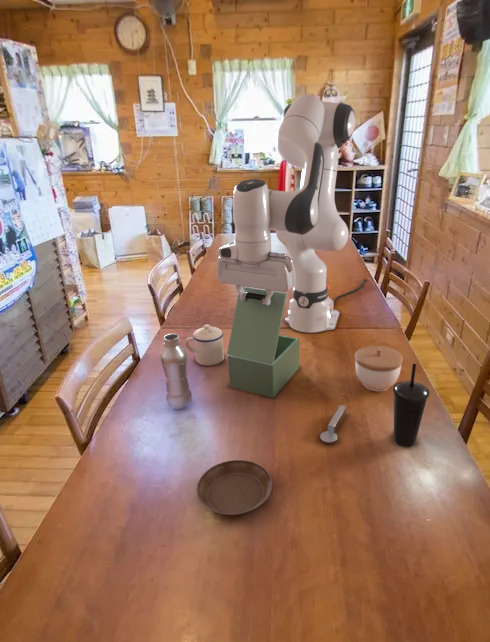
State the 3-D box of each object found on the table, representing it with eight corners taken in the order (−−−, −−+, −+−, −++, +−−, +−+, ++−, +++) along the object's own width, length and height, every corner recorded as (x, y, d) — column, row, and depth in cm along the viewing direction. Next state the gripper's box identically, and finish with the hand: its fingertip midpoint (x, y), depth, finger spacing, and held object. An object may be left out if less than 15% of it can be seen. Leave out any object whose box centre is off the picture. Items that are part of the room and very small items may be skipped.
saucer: (204, 468, 97) (203, 458, 96) (273, 469, 97) (273, 459, 96) (191, 524, 84) (189, 513, 83) (270, 525, 83) (270, 514, 82)
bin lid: (241, 286, 123) (233, 284, 118) (286, 293, 117) (280, 291, 113) (228, 354, 123) (219, 353, 118) (273, 364, 117) (266, 364, 113)
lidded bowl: (344, 385, 126) (346, 350, 122) (369, 368, 135) (371, 335, 130) (384, 402, 118) (388, 365, 114) (407, 383, 127) (412, 348, 122)
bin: (258, 359, 141) (257, 330, 137) (299, 368, 136) (299, 338, 131) (229, 386, 127) (227, 355, 122) (273, 397, 121) (272, 366, 117)
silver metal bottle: (197, 401, 120) (190, 333, 112) (182, 415, 115) (173, 344, 106) (177, 396, 123) (168, 329, 114) (162, 409, 117) (151, 340, 109)
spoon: (335, 413, 115) (335, 403, 114) (350, 416, 113) (351, 407, 112) (317, 442, 105) (317, 432, 103) (333, 446, 103) (334, 436, 102)
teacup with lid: (227, 353, 145) (225, 319, 140) (221, 367, 137) (218, 332, 132) (191, 351, 146) (187, 318, 141) (182, 365, 138) (178, 330, 133)
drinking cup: (422, 433, 107) (433, 358, 98) (420, 454, 100) (432, 376, 92) (389, 427, 109) (397, 353, 100) (385, 446, 103) (394, 370, 94)
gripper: (297, 251, 109) (297, 304, 115) (224, 243, 117) (228, 293, 124) (286, 258, 104) (287, 313, 110) (211, 249, 112) (215, 301, 118)
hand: (255, 302), depth 117 cm, fingers closed on bin lid, 5 cm apart
